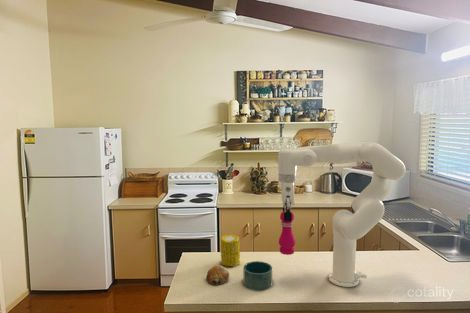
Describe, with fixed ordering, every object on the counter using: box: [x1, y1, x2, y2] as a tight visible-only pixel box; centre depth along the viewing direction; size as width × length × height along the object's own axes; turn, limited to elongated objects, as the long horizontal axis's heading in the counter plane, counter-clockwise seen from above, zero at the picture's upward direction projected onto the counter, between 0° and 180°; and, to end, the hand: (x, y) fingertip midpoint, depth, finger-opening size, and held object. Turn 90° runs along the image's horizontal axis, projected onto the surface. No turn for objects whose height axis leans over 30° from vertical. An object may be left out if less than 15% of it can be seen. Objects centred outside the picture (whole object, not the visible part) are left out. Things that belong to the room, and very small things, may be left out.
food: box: [220, 234, 241, 267], centre depth 159 cm, size 15×12×10 cm
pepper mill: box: [278, 210, 296, 256], centre depth 139 cm, size 7×7×20 cm
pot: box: [242, 260, 273, 291], centre depth 140 cm, size 13×13×7 cm
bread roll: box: [206, 264, 230, 286], centre depth 143 cm, size 10×10×8 cm
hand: (287, 218), depth 138 cm, fingers closed on pepper mill, 6 cm apart
